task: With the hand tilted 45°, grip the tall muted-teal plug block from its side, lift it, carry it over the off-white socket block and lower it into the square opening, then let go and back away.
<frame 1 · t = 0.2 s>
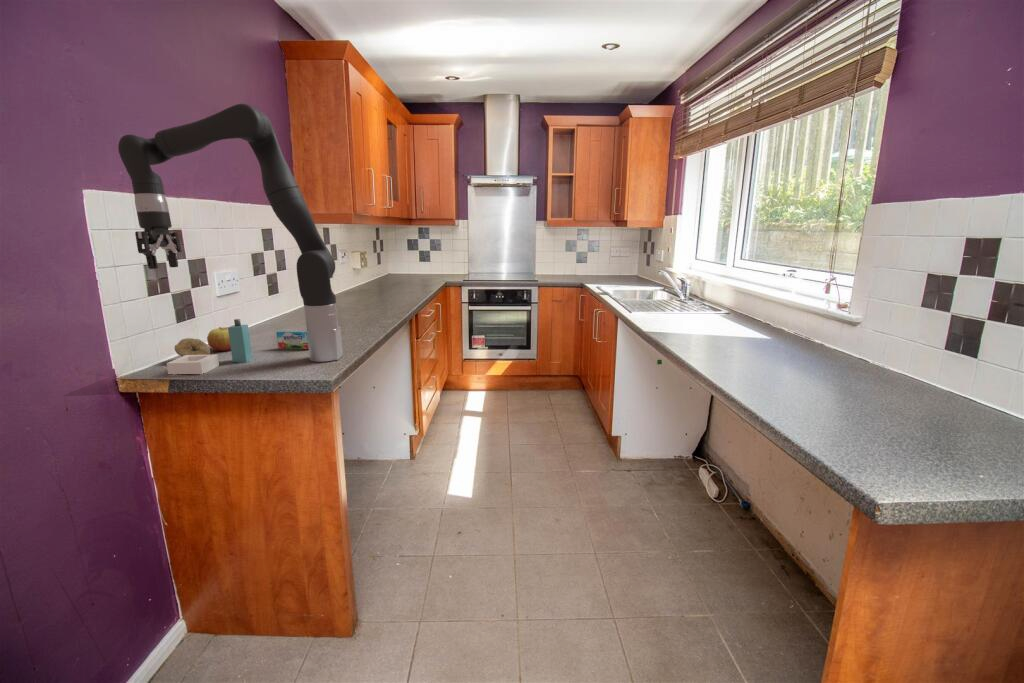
hand: (164, 268, 138), 29 cm above the countertop, tool pointing down, fingers open, 8 cm apart
socket: (194, 370, 135), on the countertop
plug: (242, 360, 145), on the countertop
blue printed box: (296, 349, 160), on the countertop
apple: (225, 350, 160), on the countertop
fossil: (194, 360, 147), on the countertop
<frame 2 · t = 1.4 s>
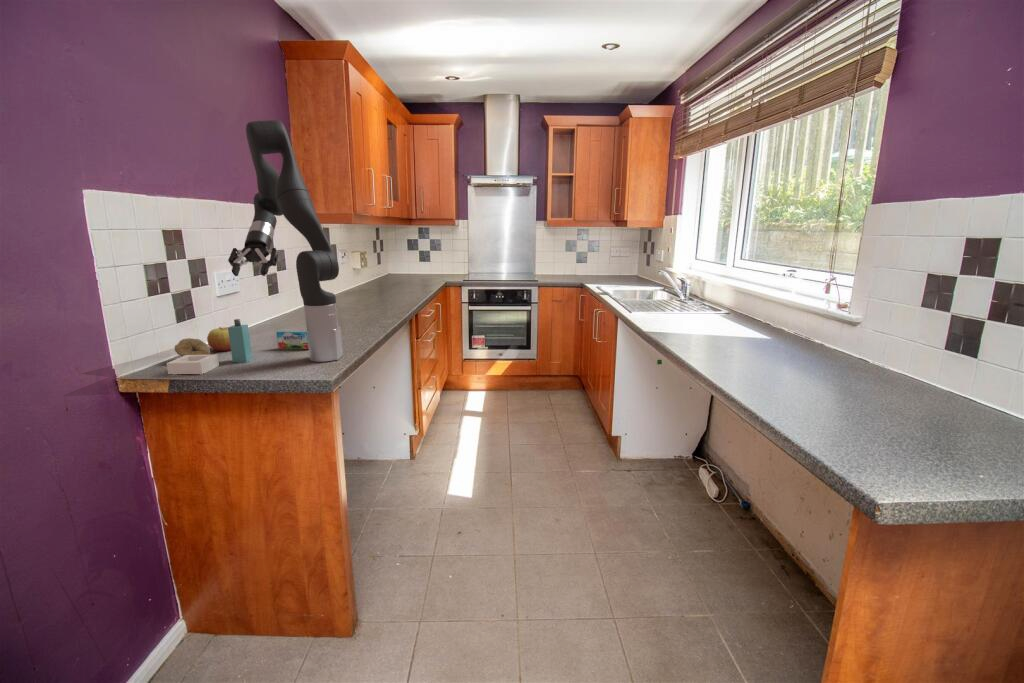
hand: (248, 274, 151), 26 cm above the countertop, tool tilted 45°, fingers open, 8 cm apart
nothing on the countertop moved.
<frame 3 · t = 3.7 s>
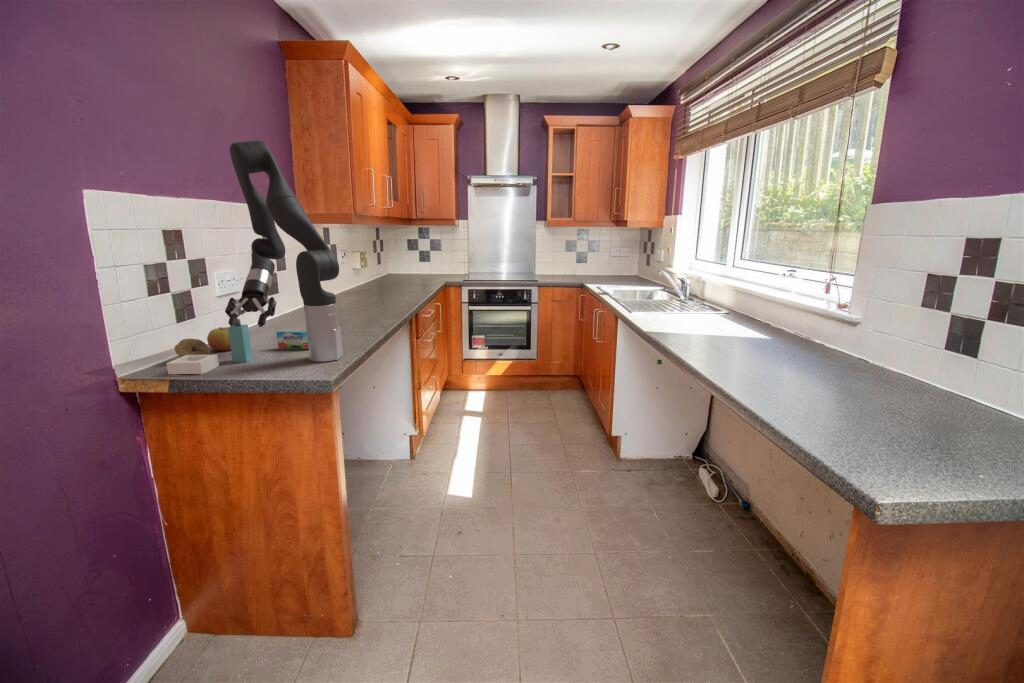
hand: (246, 325, 148), 10 cm above the countertop, tool tilted 45°, fingers open, 8 cm apart
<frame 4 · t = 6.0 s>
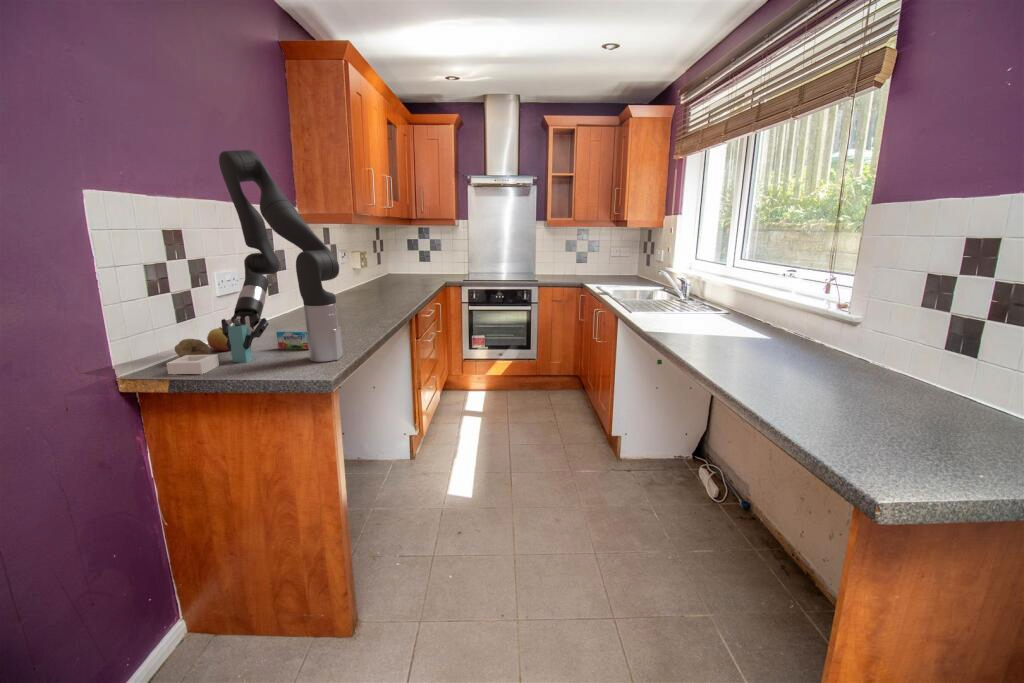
hand: (237, 347, 142), 5 cm above the countertop, tool tilted 45°, fingers closed on plug, 4 cm apart
plug: (242, 360, 145), on the countertop, touching gripper
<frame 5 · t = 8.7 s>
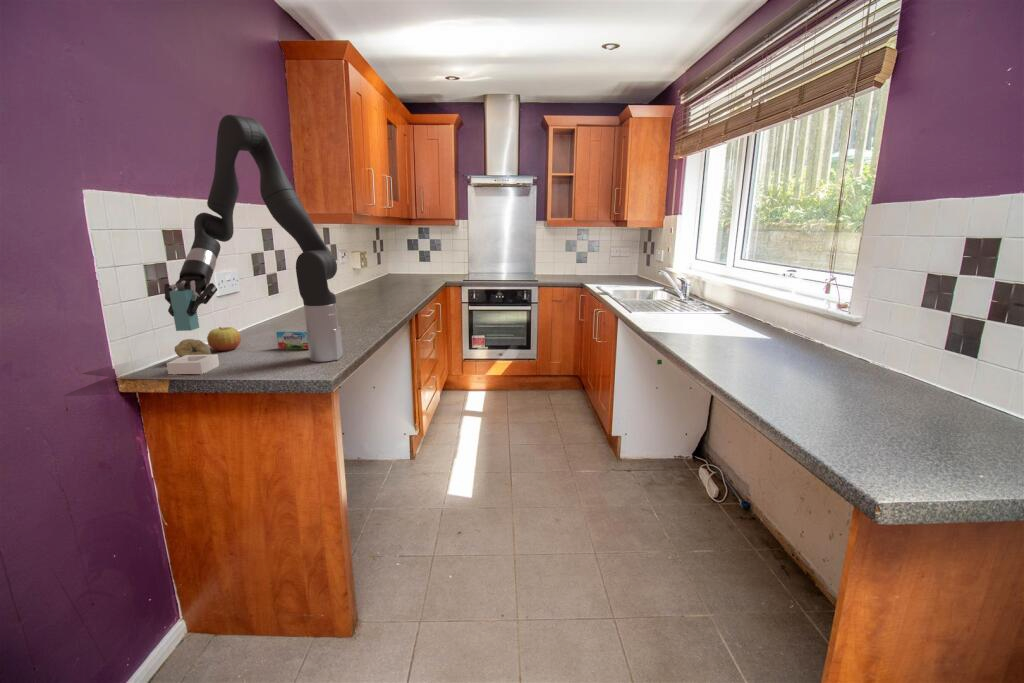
hand: (181, 314, 130), 17 cm above the countertop, tool tilted 45°, fingers closed on plug, 4 cm apart
plug: (187, 329, 133), point 12 cm above the countertop, touching gripper
when the fingers open (6 cm above the countertop, at t = 11.4 s): plug drops 1 cm, resting in socket.
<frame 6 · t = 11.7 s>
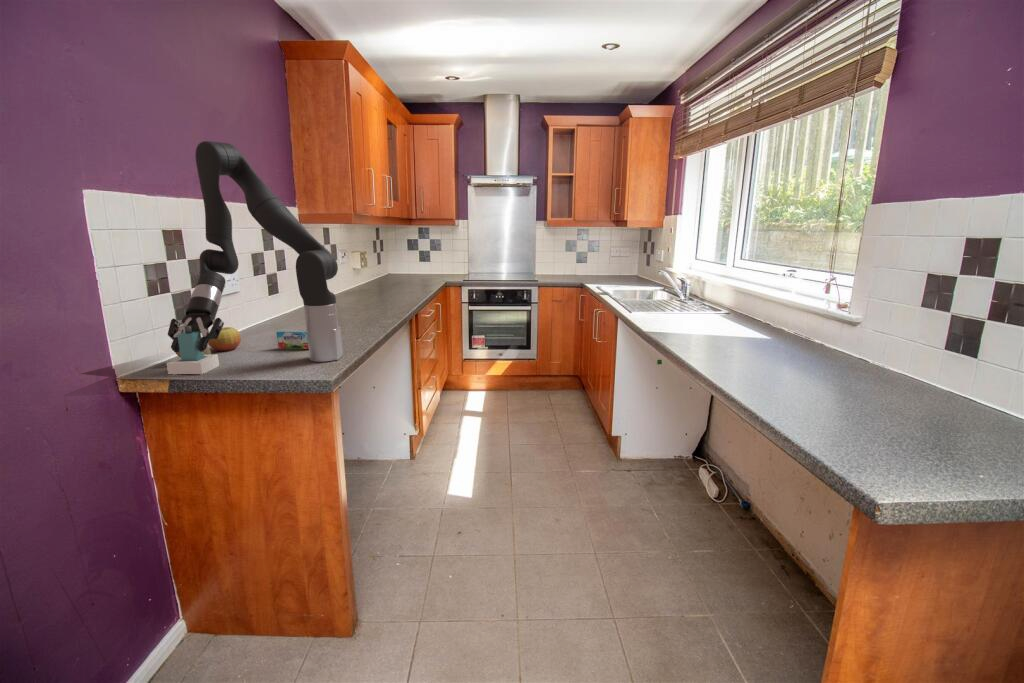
hand: (187, 350, 132), 6 cm above the countertop, tool tilted 45°, fingers open, 6 cm apart
plug: (195, 370, 136), resting in socket
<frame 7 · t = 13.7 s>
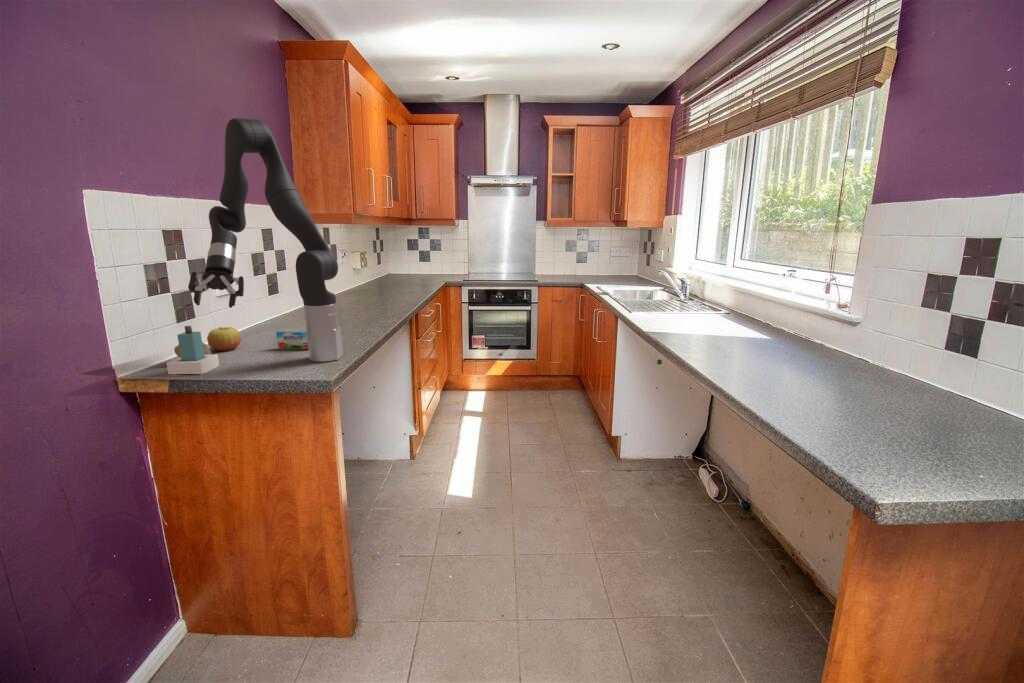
hand: (214, 305, 142), 17 cm above the countertop, tool tilted 40°, fingers open, 8 cm apart
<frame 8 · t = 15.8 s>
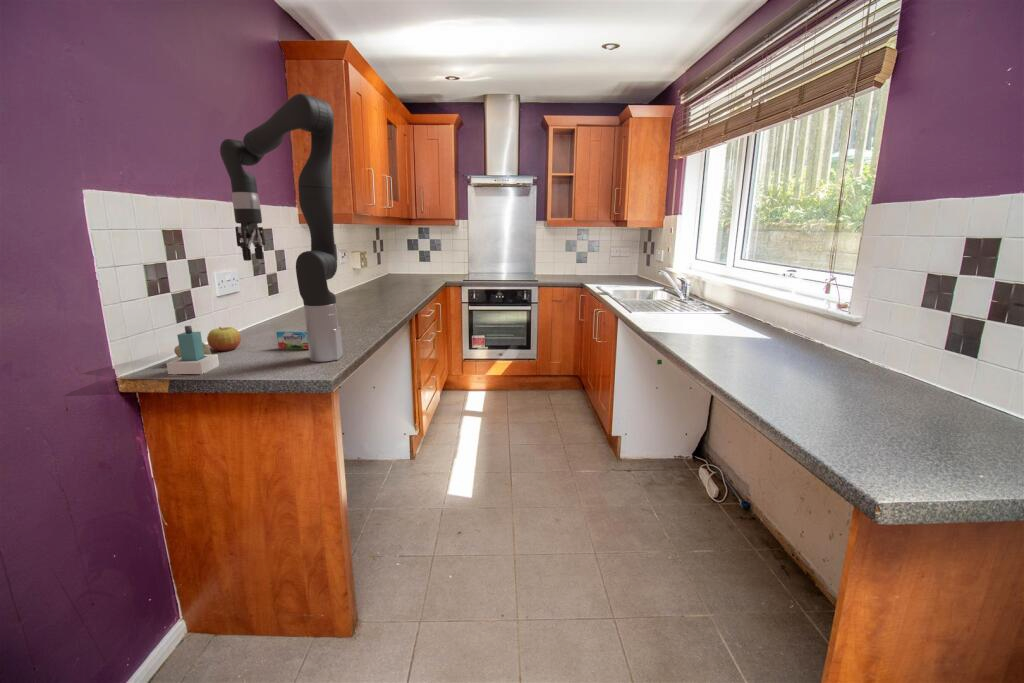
hand: (253, 259, 152), 30 cm above the countertop, tool pointing down, fingers open, 8 cm apart
at the end: plug 0.1 cm off-centre on the socket, point 0.0 cm above the socket's base; plug tilted 0°; the gripper is holding nothing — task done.
